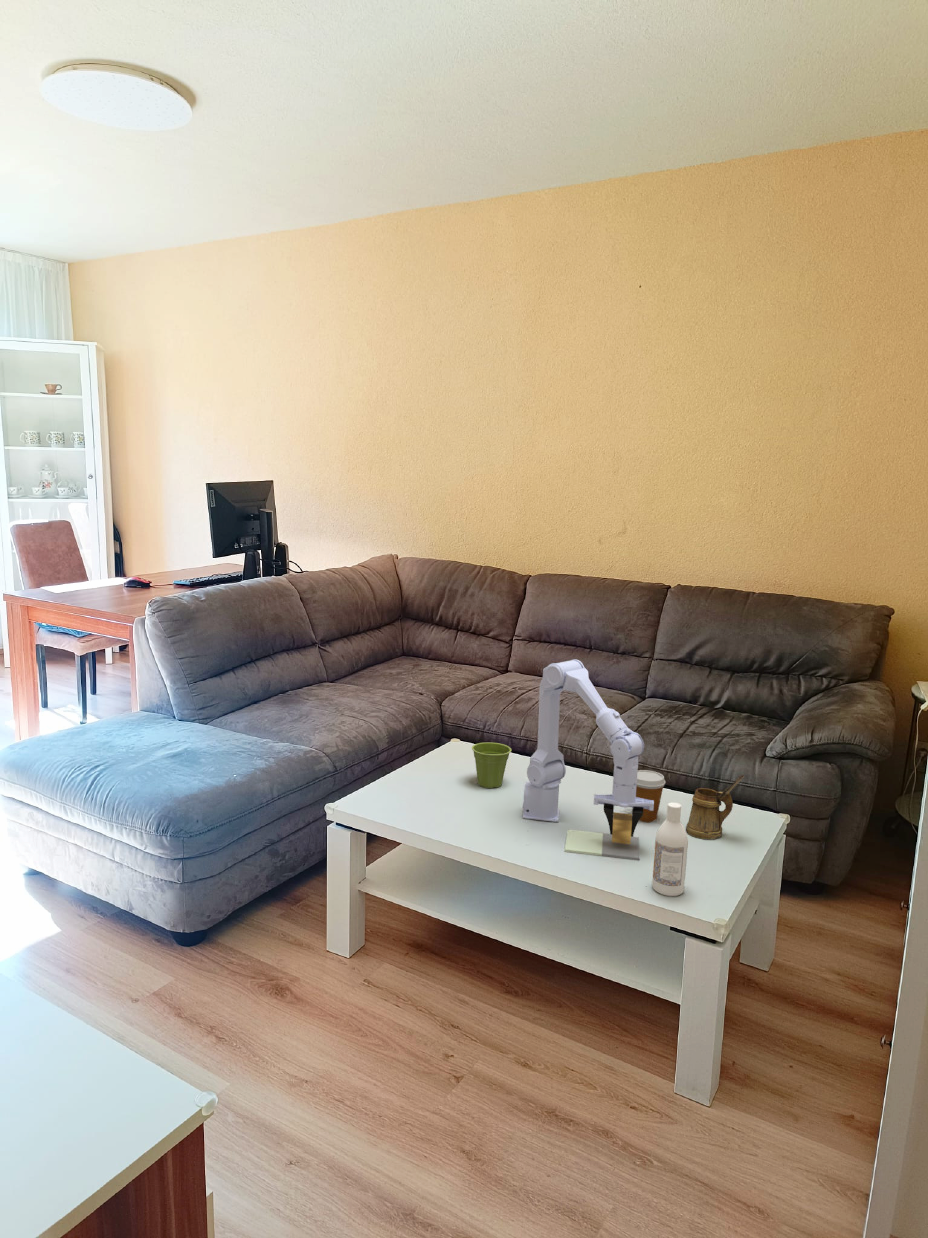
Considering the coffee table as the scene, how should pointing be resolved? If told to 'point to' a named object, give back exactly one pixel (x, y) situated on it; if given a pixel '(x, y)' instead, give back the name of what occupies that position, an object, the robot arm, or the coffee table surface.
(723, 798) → the wooden mug
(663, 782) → the disposable coffee cup
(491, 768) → the plant pot
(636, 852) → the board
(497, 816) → the coffee table surface
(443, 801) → the coffee table surface
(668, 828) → the bath foam
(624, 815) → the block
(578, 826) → the coffee table surface
